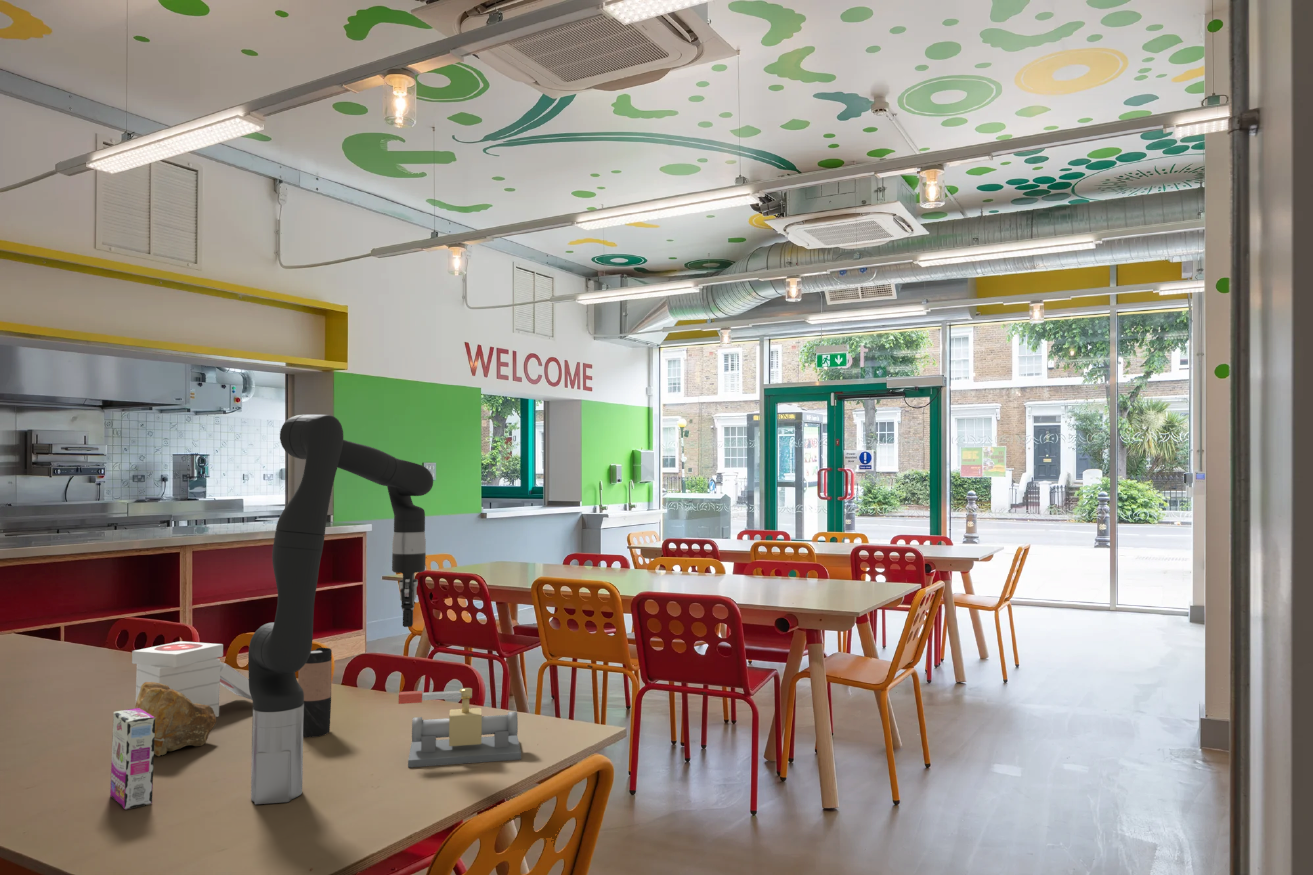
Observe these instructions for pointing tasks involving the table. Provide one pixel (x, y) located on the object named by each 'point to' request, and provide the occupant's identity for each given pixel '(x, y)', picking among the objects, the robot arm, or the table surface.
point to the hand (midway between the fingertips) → (407, 626)
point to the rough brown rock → (175, 717)
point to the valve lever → (433, 695)
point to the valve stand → (464, 738)
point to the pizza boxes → (190, 671)
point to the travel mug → (316, 692)
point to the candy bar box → (132, 758)
